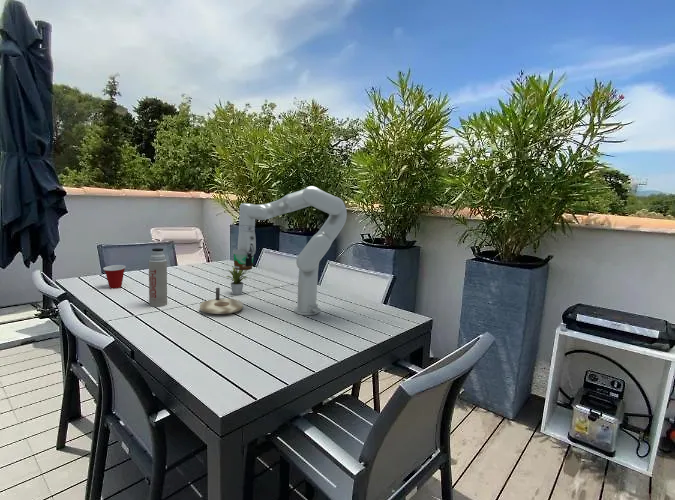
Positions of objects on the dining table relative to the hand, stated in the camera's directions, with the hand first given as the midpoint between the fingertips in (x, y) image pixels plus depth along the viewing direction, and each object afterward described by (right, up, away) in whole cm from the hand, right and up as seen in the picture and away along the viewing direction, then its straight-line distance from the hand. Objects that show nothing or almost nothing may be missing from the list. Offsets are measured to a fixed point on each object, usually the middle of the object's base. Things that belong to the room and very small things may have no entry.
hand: (245, 264), depth 180 cm
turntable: (-11, -22, -4) cm, 25 cm away
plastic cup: (-80, -14, +25) cm, 85 cm away
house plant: (-11, -18, +26) cm, 33 cm away
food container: (0, -2, 0) cm, 2 cm away
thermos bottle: (-43, -20, 0) cm, 47 cm away
